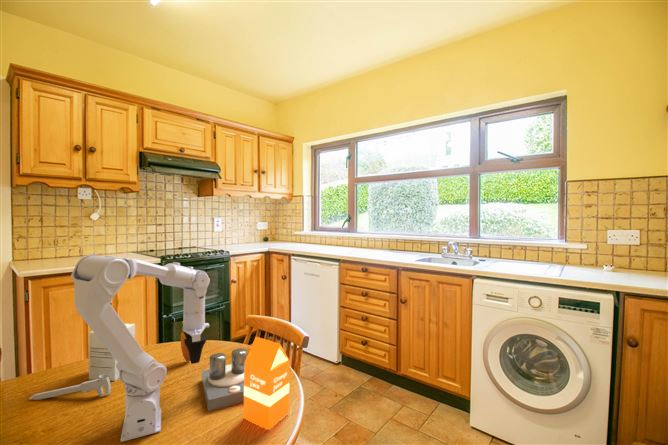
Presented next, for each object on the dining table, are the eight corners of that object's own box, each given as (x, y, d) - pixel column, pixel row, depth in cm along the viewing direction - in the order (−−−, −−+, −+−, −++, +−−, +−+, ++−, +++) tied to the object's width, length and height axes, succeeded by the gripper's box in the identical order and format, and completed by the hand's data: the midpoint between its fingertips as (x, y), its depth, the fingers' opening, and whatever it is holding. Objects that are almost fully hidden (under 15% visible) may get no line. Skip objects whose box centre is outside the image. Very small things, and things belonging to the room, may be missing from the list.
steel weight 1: (225, 378, 91) (226, 358, 91) (209, 381, 89) (209, 360, 89) (225, 371, 95) (225, 352, 95) (209, 373, 94) (209, 354, 93)
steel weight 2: (248, 371, 95) (248, 352, 95) (234, 375, 93) (234, 356, 93) (243, 365, 99) (243, 347, 99) (229, 369, 96) (229, 350, 96)
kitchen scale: (260, 397, 89) (261, 384, 88) (208, 411, 82) (208, 397, 82) (247, 370, 103) (247, 359, 103) (201, 380, 97) (202, 368, 97)
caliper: (110, 395, 89) (111, 373, 88) (108, 397, 88) (108, 375, 87) (30, 398, 86) (30, 376, 86) (27, 401, 85) (27, 378, 85)
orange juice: (264, 403, 86) (265, 332, 86) (289, 414, 81) (290, 339, 81) (242, 418, 79) (244, 341, 79) (268, 431, 75) (270, 349, 74)
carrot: (177, 364, 107) (177, 321, 106) (187, 358, 112) (187, 316, 111) (189, 366, 106) (190, 322, 105) (198, 359, 110) (199, 318, 110)
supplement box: (111, 365, 105) (111, 322, 104) (135, 367, 104) (136, 323, 104) (87, 379, 96) (87, 331, 95) (114, 382, 95) (114, 333, 95)
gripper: (212, 316, 85) (211, 364, 86) (206, 302, 98) (205, 344, 98) (183, 320, 82) (183, 370, 82) (181, 305, 95) (181, 349, 95)
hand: (193, 357), depth 90 cm, fingers open, 7 cm apart
